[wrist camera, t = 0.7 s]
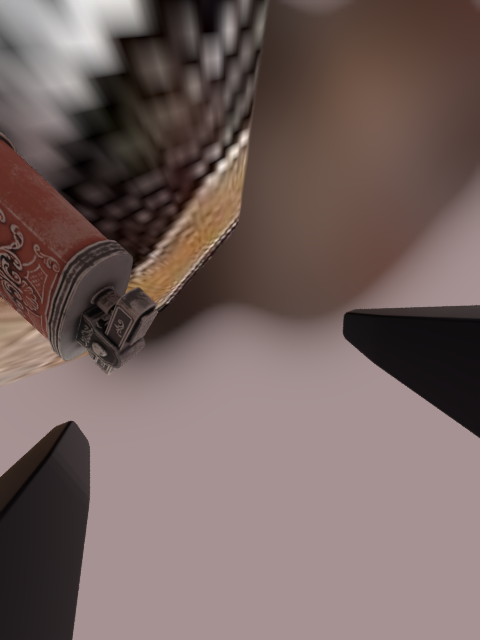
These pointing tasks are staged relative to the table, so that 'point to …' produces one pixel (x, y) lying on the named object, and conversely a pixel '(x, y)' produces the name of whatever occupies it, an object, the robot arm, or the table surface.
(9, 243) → the lighter
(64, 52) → the table surface
